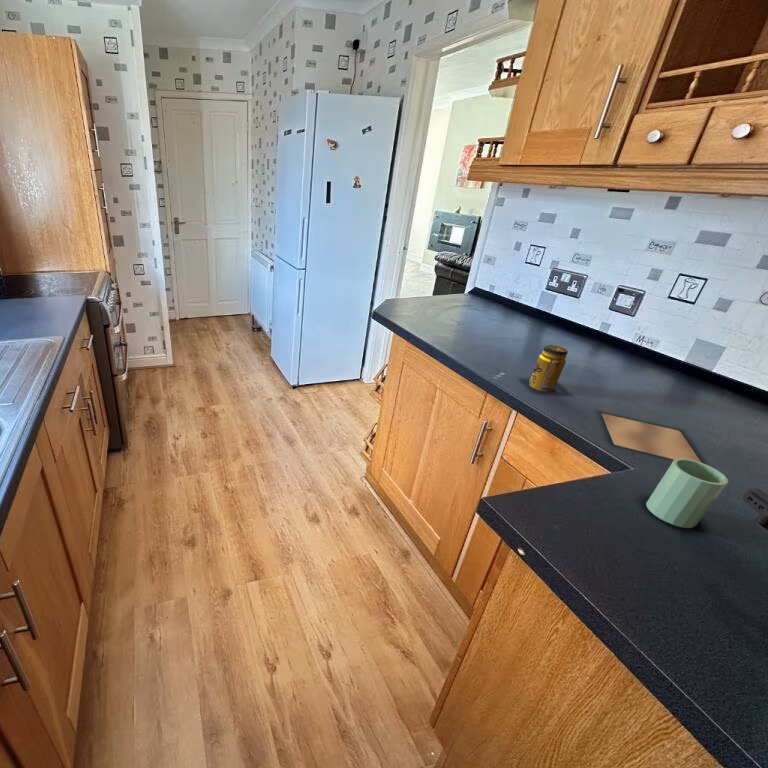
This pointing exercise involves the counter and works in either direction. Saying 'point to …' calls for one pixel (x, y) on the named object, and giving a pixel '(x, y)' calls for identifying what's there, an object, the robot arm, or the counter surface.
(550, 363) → the condiment
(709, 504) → the cup
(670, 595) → the counter surface
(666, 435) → the mat
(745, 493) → the robot arm
